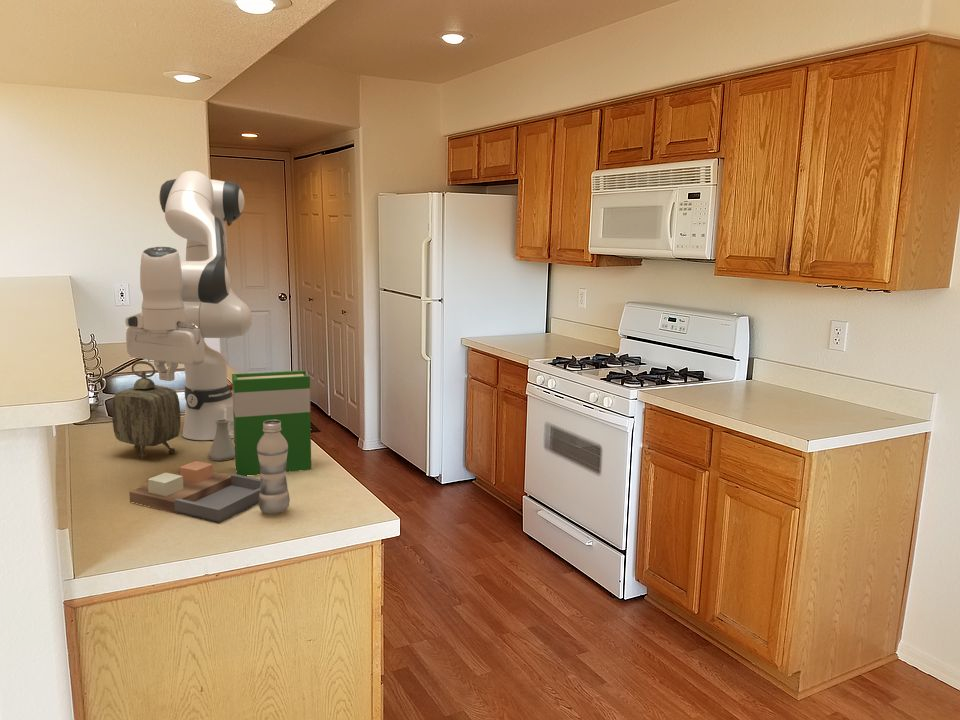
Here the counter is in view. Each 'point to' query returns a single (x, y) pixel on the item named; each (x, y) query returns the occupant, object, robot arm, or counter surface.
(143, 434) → the tabletop clock
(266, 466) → the plastic bottle
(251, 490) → the tray
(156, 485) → the cream block
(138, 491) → the walnut board
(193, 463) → the orange square block
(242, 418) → the hardback book
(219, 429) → the flask
